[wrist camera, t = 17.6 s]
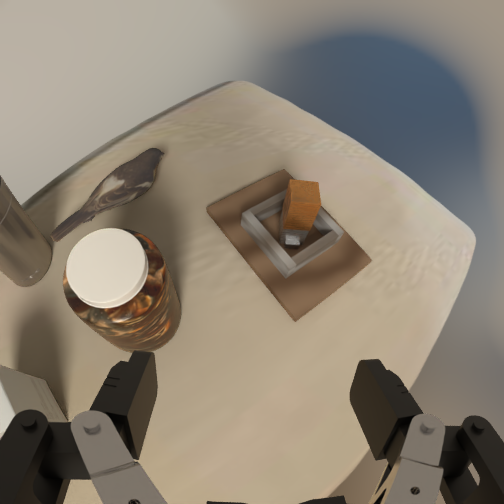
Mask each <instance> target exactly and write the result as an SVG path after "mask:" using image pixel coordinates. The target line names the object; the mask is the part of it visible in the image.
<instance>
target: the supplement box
mask: <svg viewBox="0 0 504 504" xmlns="http://www.w3.org/2000/svg"><path fill="white" fill-rule="evenodd" d="M28 409H33V410H38V411H40V412H42V413H43V414H44V415H45V416H46V417H47V420H48V422H68V421H67V420H66V418H65V416H64V414H63V413H62V411H61V409H60V407H59V406H58V404H57V402H56V400H55V398H54V396H53V394H52V392H51V391H50V389H49V387H48V385H47V383H46V381H45V380H44V379H41V378H37V377H34V376H31V375H28V374H25V373H22V372H19V371H16V370H13V369H10V368H7V367H5V366H2V365H0V439H1V438H2V436H3V434H4V432H5V431H6V429H7V427H8V426H9V424H10V422H11V421H12V419H13V418H14V416H15V415H16V414H18V413H19V412H21V411H23V410H28Z"/></svg>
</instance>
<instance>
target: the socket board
mask: <svg viewBox="0 0 504 504" xmlns="http://www.w3.org/2000/svg"><path fill="white" fill-rule="evenodd" d="M290 179H292V180H295V179H294V178H293V177H292V176H291V175H290V174H289V173H288V172H287V171H286V170H285V169H283V170H281V171H279V172H277V173H275V174H273V175H271V176H269V177H266V178H264V179H262V180H260V181H258V182H256V183H254V184H252V185H250V186H248V187H246V188H244V189H242V190H240V191H238V192H236V193H234V194H232V195H230V196H228V197H226V198H224V199H222V200H220V201H218V202H217V203H215V204H213V205H211V206H209V207H207V208H206V209H207V213H208V214H209V215H210V216H211V218H212V219H213V220H214V221H215V223H216V224H217V225H218V227H219V228H220V229H221V230H222V232H223V233H224V234H225V235H226V237H227V238H228V239H229V240H230V242H231V243H232V244H233V245H234V247H235V248H236V249H237V250H238V252H239V253H240V254H241V255H242V257H243V258H244V259H245V260H246V262H247V263H248V264H249V265H250V267H251V268H252V269H253V270H254V272H255V273H256V274H257V275H258V277H259V278H260V279H261V280H262V282H263V283H264V284H265V285H266V287H267V288H268V289H269V290H270V292H271V293H272V294H273V295H274V297H275V298H276V299H277V300H278V302H279V303H280V304H281V305H282V307H283V308H284V309H285V310H286V311H287V313H288V314H289V315H290V316H291V318H292V319H293V320H294V321H295V322H296V321H297V320H299V319H300V318H301V317H302V316H304V315H305V314H306V313H308V312H309V311H310V310H312V309H313V308H314V307H316V306H317V305H318V304H320V303H321V302H322V301H323V300H325V299H326V298H327V297H328V296H330V295H331V294H332V293H334V292H335V291H336V290H337V289H339V288H340V287H341V286H342V285H344V284H345V283H346V282H347V281H349V280H350V279H351V278H352V277H353V276H355V275H356V274H357V273H358V272H360V271H361V270H362V269H363V268H364V267H366V266H367V265H368V264H369V263H370V262H371V261H372V260H371V259H370V257H369V256H368V255H367V254H366V253H365V252H364V251H363V250H362V249H361V248H360V246H359V245H358V244H357V243H356V242H355V241H354V240H353V239H352V238H351V237H350V236H349V234H348V233H347V232H346V231H345V230H344V229H343V228H342V227H341V226H340V225H339V224H338V223H337V222H336V221H335V220H334V219H333V218H332V217H331V215H330V214H329V213H328V212H327V211H326V210H325V209H324V208H323V207H322V206H320V209H319V211H318V213H317V216H316V218H315V220H314V223H313V225H312V227H311V230H310V231H309V232H308V234H307V236H306V239H305V241H304V243H303V245H299V248H298V249H288V248H285V244H283V243H279V220H280V217H281V213H282V207H283V203H284V199H285V196H286V192H287V188H288V185H289V181H290Z"/></svg>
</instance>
